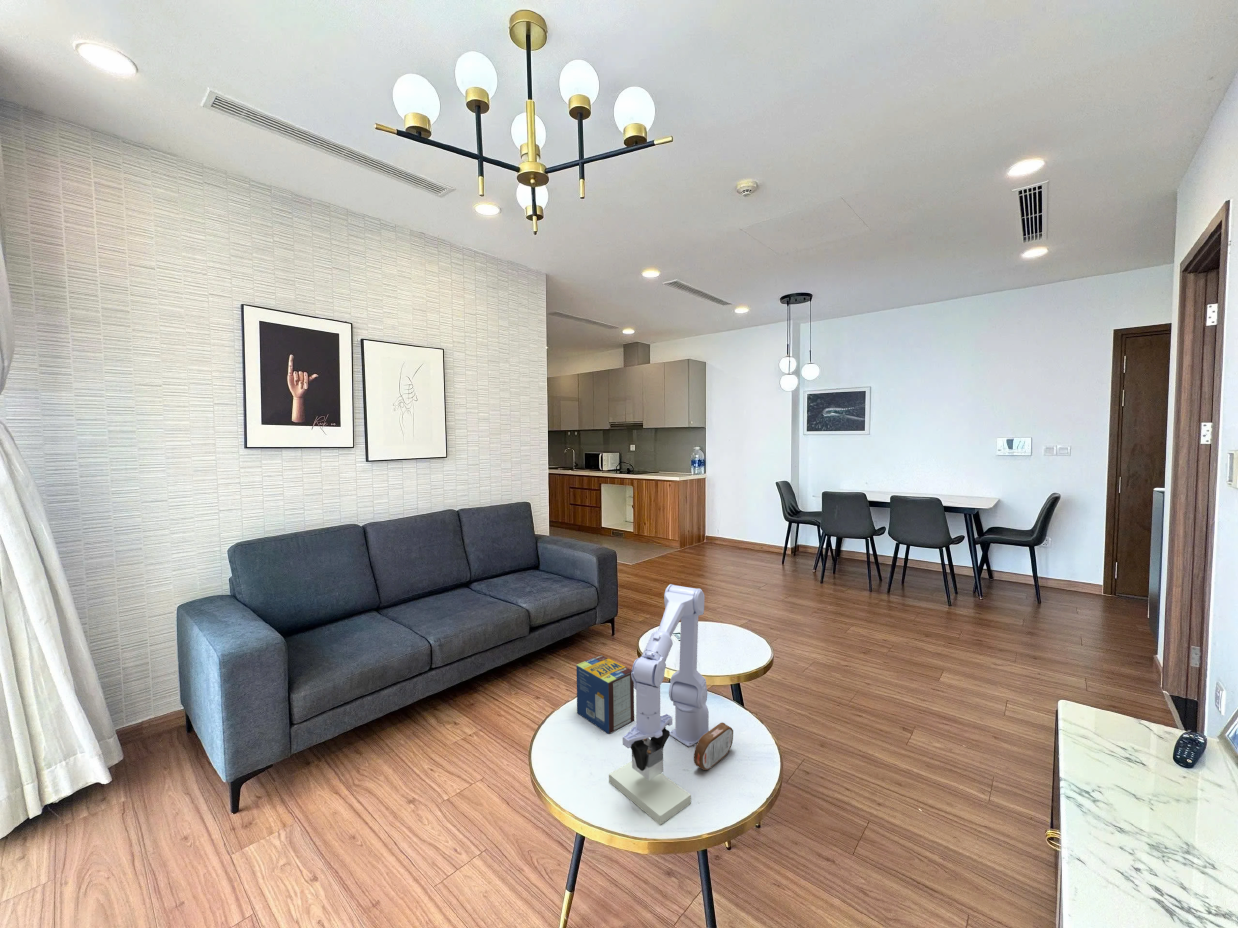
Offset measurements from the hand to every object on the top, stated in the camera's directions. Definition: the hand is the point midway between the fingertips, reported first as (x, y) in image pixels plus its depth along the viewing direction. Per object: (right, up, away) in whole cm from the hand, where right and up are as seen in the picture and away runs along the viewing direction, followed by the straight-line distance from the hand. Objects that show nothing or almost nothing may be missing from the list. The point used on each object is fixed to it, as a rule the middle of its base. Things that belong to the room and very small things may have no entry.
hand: (648, 763), depth 119 cm
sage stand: (0, -7, 0) cm, 7 cm away
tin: (+18, -7, +12) cm, 22 cm away
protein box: (-11, -6, +33) cm, 35 cm away
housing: (0, -2, 0) cm, 2 cm away
